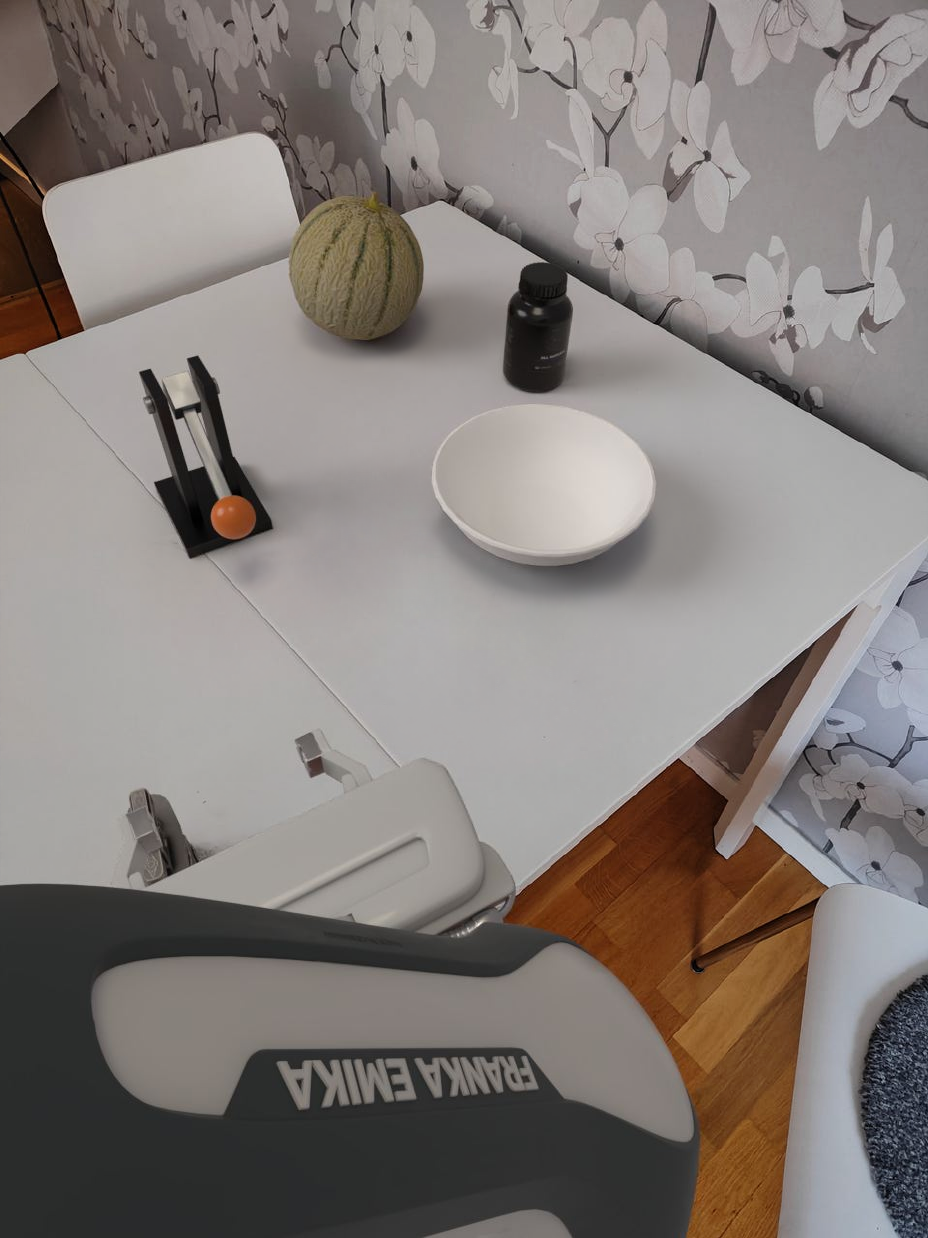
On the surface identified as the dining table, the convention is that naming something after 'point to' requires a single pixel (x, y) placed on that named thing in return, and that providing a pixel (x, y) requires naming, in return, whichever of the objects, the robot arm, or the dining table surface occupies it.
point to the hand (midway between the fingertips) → (223, 776)
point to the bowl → (543, 483)
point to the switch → (209, 460)
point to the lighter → (163, 838)
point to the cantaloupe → (356, 267)
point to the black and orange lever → (192, 490)
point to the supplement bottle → (538, 328)
